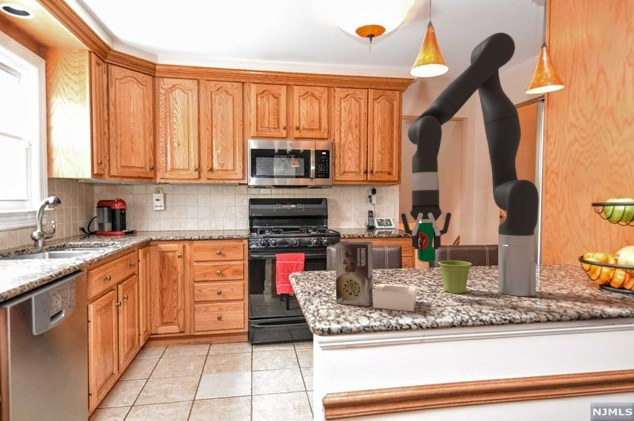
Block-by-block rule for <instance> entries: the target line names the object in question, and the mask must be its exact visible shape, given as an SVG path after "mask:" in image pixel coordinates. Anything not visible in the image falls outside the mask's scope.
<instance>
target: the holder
mask: <svg viewBox="0 0 634 421" xmlns="http://www.w3.org/2000/svg"><path fill="white" fill-rule="evenodd" d="M417 288H418V287H417V286H415V285H402V284H401V285H400V284H388V283H379V284H378V285H377V286H376V287H375V289H373V301H372V308H374V309H376V308H377V309H385V310H395V311H406V312H407V311H408V312H414V311H415V309H416V308H415V307H416V304H417V294H418V292H417Z"/></svg>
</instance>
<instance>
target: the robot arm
mask: <svg viewBox="0 0 634 421" xmlns="http://www.w3.org/2000/svg"><path fill="white" fill-rule="evenodd" d="M515 51H516V43H515V40H514V39H513V37H512V36H510V34H508V33H505V32H496V33H493V34H491V35H490V36H488V37H486V38H485V39H483V41H480V43H479V44H478V45H476V46H475V47H474V48H473V50H472V51H471V55H470V65H469V66H468V67H466V69H464V71H463V72H461V74H459V76H457V77H456V78H455V79H454V80H453V81H452V82H451V83H450V84H449V85H448V86H447V87H445V89H444V90H443V91H442V92H441V93H440V94H439V95H438V96H437V97H436V98H435V100H434V101H433V102H432V103H431V105H430V106H429V107H428V108H427V109H426V110H424V111H423V112H422V113H421V114H420V115H419V116H417V118H416V119H415V120H414V121H413V122H412V123H411V125H409V128H408V130H407V137H408V138H407V139H409V142H411V143H412V144H413V145H416V151H415V152H414V154H413V155H412V158H411V174H412V175H411V186H410V188H411V208H410V211H409V212H403V213H401V215H400V217H401V221H402V225H403V229H404V232H405V234H407V235H410V236H411V244H412V246H411V247H413V248H414V250H417V230H418V227H419V222H420V221H421V219H431V220H430V221H431V222H432V223H433V228H434V231H435V234H436V236H435V245H436V250H439V248H441V246H442V245H441V244H442V243H441V242H442V241H441V240H442V239H441V238H442V235H445V234H447V233H448V231H449V227H450V221H451V218H452V213H451V212H445V211H442V209H441V208H440V206H441V205H440V179H439V178H440V177H439V164H438V163H439V160H438V156H439V152H440V149H441V143H442V135H443V134H442V133H443V129H442V126H443V125H444V124H447V123H448V122H449V121H450V120H452V118H454V116H456V114H457V113H458V112H459V111H460V110H461V109H462V107H463V106H464V105H465V104H466V103H467V102H468V101H469V99H470V98H471V97H472V96H473V95H474V93H475V92H478V95H479V96H478V97H479V103H480V108H481V111H482V117H483V118H482V119H483V125H484V133H485V137H486V142H487V147H488V154H489V160H490V165H491V166H490V167H491V175H492V176H491V177H492V178H491V182H492V195H493V200H494V203H495V205H496V206H497V207H498V208H499V209H500V210H502V211H506V212H505V213H506V216H505V219H504V221H503V222H501V223H500V224H499V225H498V228H497V229H498V236H497V238H498V240H497V241H498V242H497V244H498V248H497V249H498V252H497V253H498V256H497V258H498V259H497V260H498V262H497V290H498V292H499V293H502V294H504V295H509V296H517V297H518V296H519V297H529V296H532V297H535V296H537V295H536V286H537V284H536V282H537V279H536V277H537V276H536V275H537V274H536V273H537V272H536V271H537V267H536V266H537V263H536V262H535V253H534V252H535V251H534V250H535V247H534V246H535V229H536V227H537V224H538V219H539V204H540V202H539V201H540V199H539V198H540V197H539V192H538V191H539V190H538V189H537V187H536V185H535V184H534V183H533V182H532V181H531V180H528V179H518V173H517V167H516V158H517V155H518V152H519V151H518V150H519V146H520V143H521V137H522V129H521V128H522V127H521V123H520V117H519V112H518V109H517V108H516V106H515V104H514V103H513V101H512V100H511V99H510V98H509V96H508V95H507V94H506V93H505V92H504V90H503V86H502V84H501V79H500V72H499V69H500V68H502V67H504V66H505V65H506V64H507V63H509V62H510V61H511V59H513V57H514V54H515ZM440 216H442V219H443V220H444V224H443V227H442V229H441V230H440V228H439V225H438V223H437V220H439V218H440ZM410 217H412V219H413V220H414V221H415V223H414V226H413V229H410V225H409V220H410Z"/></svg>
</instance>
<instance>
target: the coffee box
mask: <svg viewBox="0 0 634 421" xmlns="http://www.w3.org/2000/svg"><path fill="white" fill-rule="evenodd" d="M334 245H335V246H334V249H335V304H341V305H351V306H352V305H353V306H354V305H355V306H365V307H366V306H367V307H368V306H370V305H371V304H372V303H373V291H374V288H373V287H374V285H373V284H374V280H373V279H374V278H373V277H374V276H373V274H374V273H373V271H374V270H373V241H356V240H355V241H352V240H350V241H345V240H342V241H339V242H337V243H335V244H334Z"/></svg>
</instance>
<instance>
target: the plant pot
mask: <svg viewBox="0 0 634 421" xmlns="http://www.w3.org/2000/svg"><path fill="white" fill-rule="evenodd" d="M437 264H438V265H439V269H440V272H441V278H442V287H443V291H444V292H449V293H450V294H456V295H457V294H461V293H463V294H465V293H466V291H467V284H468V277H469V276H468V275H469V271H470V269H471V266H472V263H471V262H470V261H469V262H468V261H463V260H462V261H461V260H440V261H438V262H437Z"/></svg>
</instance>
